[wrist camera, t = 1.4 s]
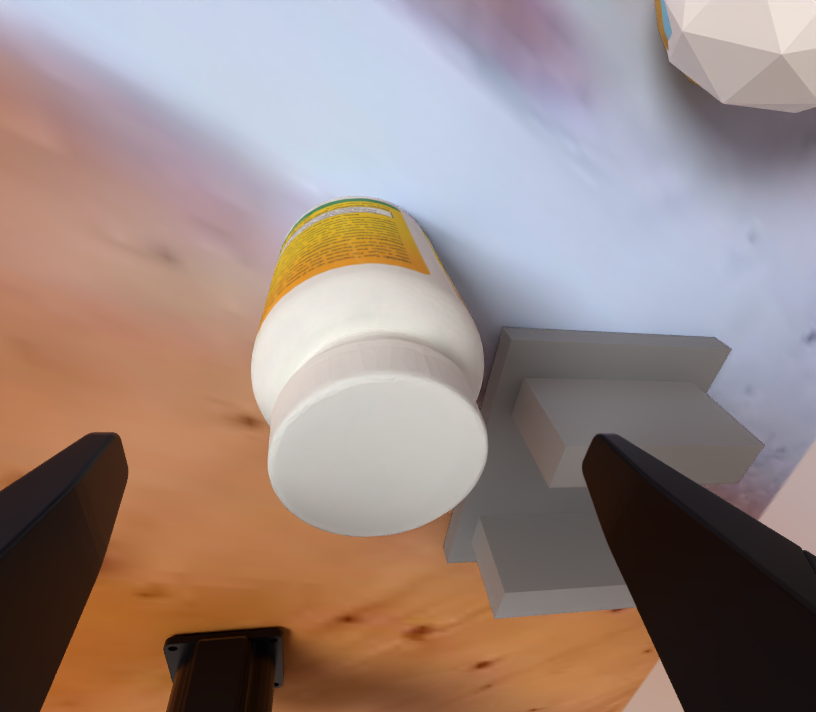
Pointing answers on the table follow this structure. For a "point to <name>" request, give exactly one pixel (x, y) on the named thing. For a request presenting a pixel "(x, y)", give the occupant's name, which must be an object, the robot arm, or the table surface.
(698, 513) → the robot arm
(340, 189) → the table surface
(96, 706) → the table surface
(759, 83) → the ornament
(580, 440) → the holder
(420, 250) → the supplement bottle
